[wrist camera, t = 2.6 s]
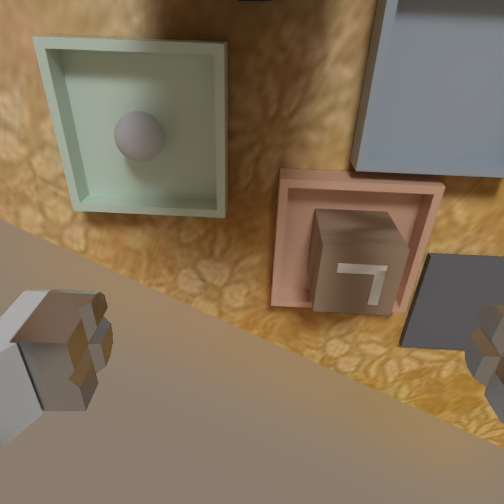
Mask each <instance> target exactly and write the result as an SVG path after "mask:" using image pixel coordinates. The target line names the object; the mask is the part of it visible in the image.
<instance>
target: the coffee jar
mask: <svg viewBox="0 0 504 504" xmlns="http://www.w3.org/2000/svg"><path fill="white" fill-rule="evenodd" d="M238 1H270V0H238Z"/></svg>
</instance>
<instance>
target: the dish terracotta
mask: <svg viewBox="0 0 504 504" xmlns="http://www.w3.org/2000/svg"><path fill="white" fill-rule="evenodd" d="M445 187H446V186H445V185H444V184H443V183H442V182H441V181H440V180H439V179H437V178H436V177H435V176H434V175H422V174H400V173H378V172H356V171H335V170H313V169H291V168H280V172H279V186H278V200H277V213H276V227H275V241H274V255H273V268H272V282H271V306H285V307H304V308H312V301H311V293H310V286H309V279H308V272H307V264H308V257H309V249H310V241H311V234H312V226H313V218H314V211H315V208H322V209H343V210H364V211H385V212H388V213H389V215H390V216H391V218H392V220H393V222H394V223H395V225H396V227H397V228H398V230H399V232H400V233H401V235H402V237H403V239H404V240H405V242H406V244H407V245H408V247H409V249H410V251H409V255H408V258H407V261H406V265H405V268H404V272H403V275H402V278H401V282H400V285H399V289H398V292H397V295H396V299H395V302H394V306H393V309H392V312H397V313H406V309H407V306H408V303H409V300H410V297H411V294H412V291H413V288H414V284H415V281H416V278H417V275H418V272H419V269H420V266H421V262H422V259H423V256H424V253H425V250H426V247H427V244H428V240H429V237H430V234H431V231H432V228H433V225H434V222H435V219H436V215H437V212H438V209H439V206H440V203H441V200H442V197H443V193H444V190H445Z"/></svg>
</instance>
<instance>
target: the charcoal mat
mask: <svg viewBox="0 0 504 504" xmlns="http://www.w3.org/2000/svg"><path fill="white" fill-rule="evenodd" d="M485 305H504V257H498V256H478V255H458V254H438V253H428V256H427V259H426V262H425V265H424V268H423V271H422V274H421V277H420V280H419V283H418V287H417V290H416V293H415V296H414V299H413V302H412V305H411V308H410V311H409V314H408V317H407V320H406V323H405V326H404V330H403V333H402V336H401V339H400V344H401V346H405V347H423V348H441V349H459V350H465V344H466V342H467V339H468V336H469V334H471V333H472V332H473V331H475V330H476V329H478V328H479V325H478V323H477V321H476V318H477V315H478V313H479V311H480V310H481V309H482V308H483V307H484V306H485Z"/></svg>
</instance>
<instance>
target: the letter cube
mask: <svg viewBox="0 0 504 504" xmlns="http://www.w3.org/2000/svg"><path fill="white" fill-rule="evenodd" d="M409 251H410V249H409V247H408V245H407V244H406V242H405V240H404V239H403V237H402V235H401V233H400V232H399V230H398V228H397V227H396V225H395V223H394V222H393V220H392V218H391V216H390V215H389V213H388V212H385V211H364V210H343V209H322V208H315V211H314V218H313V226H312V234H311V241H310V249H309V257H308V264H307V272H308V279H309V286H310V293H311V301H312V308H313V311H315V312H334V313H352V314H371V315H390V316H391V312H392V309H393V306H394V302H395V299H396V295H397V292H398V289H399V285H400V282H401V278H402V275H403V272H404V268H405V265H406V261H407V258H408V255H409Z"/></svg>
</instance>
